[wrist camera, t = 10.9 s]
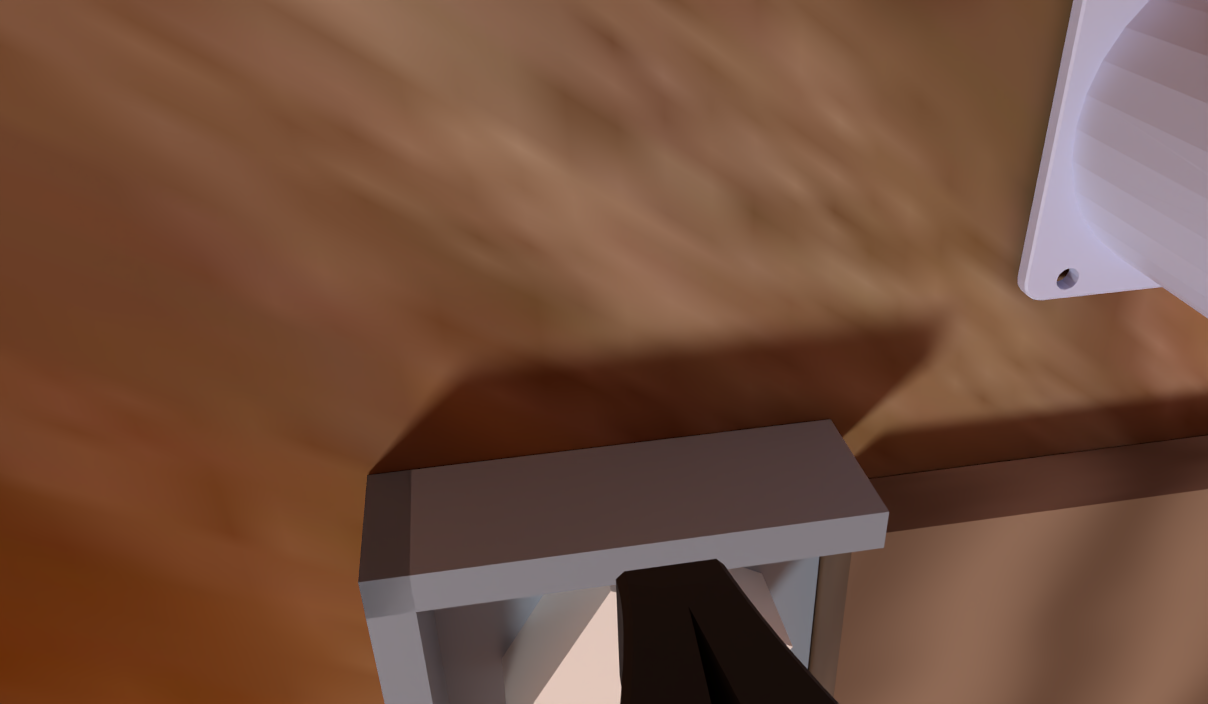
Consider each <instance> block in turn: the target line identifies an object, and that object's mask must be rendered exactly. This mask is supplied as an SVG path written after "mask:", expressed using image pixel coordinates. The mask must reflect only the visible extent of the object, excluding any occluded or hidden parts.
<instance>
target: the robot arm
mask: <svg viewBox="0 0 1208 704" xmlns="http://www.w3.org/2000/svg"><path fill="white" fill-rule="evenodd" d="M1066 269H1069V271H1068V273H1067V275H1066V276H1065V277H1064V278H1063V279H1062V280H1060V281H1057V278H1058V276H1059V274H1061V273H1062V272H1063V271H1064V270H1066ZM1018 285H1019V287H1020V289H1021V290H1022V291H1023V292H1024V293H1025V294H1026V295H1027V296H1029V297H1030V298H1032V299H1034V300H1047V299H1056V298H1065V297H1075V296H1084V295H1093V294H1102V293H1111V292H1121V291H1130V290H1139V289H1148V288H1157V287H1163V288H1165V289H1166V290H1167V291H1169V292H1170V293H1172V294H1173V295H1175V296H1176V297H1178V298H1179V299H1181V300H1182V301H1183V302H1185V303H1186V304H1188V305H1189V306H1191V307H1192V308H1194V309H1195V310H1197V311H1198V312H1199V313H1201V314H1202V315H1204V316H1205V317H1207V318H1208V0H1073V5H1072V10H1071V15H1070V20H1069V24H1068V29H1067V34H1066V39H1065V44H1064V49H1063V54H1062V59H1061V64H1060V69H1059V74H1058V79H1057V84H1056V89H1055V94H1054V99H1053V104H1052V109H1051V114H1050V119H1049V124H1048V129H1047V134H1046V139H1045V144H1044V149H1043V154H1042V159H1041V164H1040V169H1039V174H1038V179H1037V184H1036V189H1035V194H1034V199H1033V204H1032V208H1031V213H1030V218H1029V223H1028V228H1027V233H1026V238H1025V243H1024V248H1023V253H1022V258H1021V263H1020V268H1019V273H1018ZM616 598H617V623H618V649H619V674H620V682H621V698H620V704H839V703H838V702H837V701H836V700H835V699H834V698H833V697H832V696H831V694H830V693H829V692H828V691H827V690H826V689H825V688H824V687H823V686H822V685H821V684H820V683H819V681H818V680H817V679H816V678H815V677H814V676H813V675H812V674H811V672H810V671H809V670H808V669H807V668H806V667H805V666H804V665H803V664H802V662H801V661H800V660H799V659H798V658H797V657H796V656H795V655H794V653H793V652H792V651H791V650H790V649H789V648H788V646H787V645H786V644H785V643H784V642H783V641H782V639H781V638H780V637H779V636H778V635H777V633H776V632H775V631H774V630H773V628H772V627H771V626H770V625H769V624H768V622H767V621H766V620H765V619H764V617H763V616H762V615H761V614H760V612H759V611H758V610H757V609H756V607H755V606H754V605H753V603H752V602H751V601H750V600H749V598H748V597H747V596H746V594H745V593H744V592H743V590H742V589H741V588H740V586H739V585H738V583H737V582H736V581H735V579H734V578H733V577H732V575H731V574H730V572H729V571H728V569H727V568H726V567H725V565H724V564H723V563H721V562H720V561H719V560H717V559H710V560H703V561H695V562H688V563H681V564H673V565H666V566H659V567H652V568H644V569H637V570H630V571H624V572H623V573H622V574H621V575H620V576H619V577H618V578H616Z"/></svg>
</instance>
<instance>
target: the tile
mask: <svg viewBox="0 0 1208 704" xmlns="http://www.w3.org/2000/svg"><path fill="white" fill-rule="evenodd" d="M728 571H729V572H730V574H731V575H732V577H733V578H734V579H735V581H736V582H737V583H738V585H739V586H740V588H741V589H742V590H743V592H744V593H745V594H746V596H747V597H748V598H749V600H750V601H751V602H752V603H753V605H754V606H755V607H756V609H757V610H758V611H759V612H760V614H761V615H762V616H763V617H764V619H765V620H766V621H767V622H768V624H769V625H770V626H771V627H772V628H773V630H774V631H775V632H776V633H777V635H778V636H779V637H780V638H781V639H782V641H783V642H784V643H785V644H786V645H787V646H788V648H789V649H791V648H792V647H793V646H792V644H791V641H790V639H789V637H788V634H787V632H786V629H785V627H784V625H783V622H782V620H781V618H780V615H779V613H778V611H777V608H776V606H775V603H774V601H773V599H772V596H771V594H770V592H769V589H768V587H767V585H766V582H765V580H764V577H763V575H762V573H759V572H756V571H753V570H750V569H747V568H744V567H740V568H733V569H728ZM502 664H503V675H504V687H505V699H506V704H620V698H621V682H620V674H619V649H618V623H617V598H616V585H610V586H602V587H595V588H588V589H581V590H573V591H566V592H559V593H551V594H544V595H543V596H542V598H541V599H540V601H539V602H538V604H537V605H536V607H535V608H534V610H533V611H532V613H531V615H530V616H529V618H528V619H527V621H526V622H525V624H524V625H523V627H522V628H521V630H520V631H519V633H518V634H517V636H516V637H515V639H514V641H513V642H512V644H511V645H510V647H509V648H508V650H507V651H506V653H505V654H504V656H503V657H502Z"/></svg>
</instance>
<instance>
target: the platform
mask: <svg viewBox="0 0 1208 704" xmlns="http://www.w3.org/2000/svg"><path fill="white" fill-rule="evenodd" d="M869 481H870V482H871V484H872V485H873V487H874V489H875V490H876V492H877V493H878V495H879V496H880V498H881V500H882V501H883V503H884V504H885V506H886V507H887V509H888V511H889V516H888V523H887V530H886V537H885V544H884V548H878V549H871V550H864V551H857V552H849V553H842V554H835V555H827V556H820V557H819V565H818V574H817V584H816V594H815V603H814V613H813V623H812V633H811V642H810V652H809V662H808V670H809V671H810V672H811V674H812V675H813V676H814V677H815V678H816V679H817V680H818V681H819V683H820V684H821V685H822V686H823V687H824V688H825V689H826V690H827V691H828V692H829V693H830V694H831V696H832V697H833V698H834V699H835V700H836V701H837V702H838V703H839V704H1208V435H1207V436H1199V437H1191V438H1183V439H1176V440H1168V441H1160V442H1152V443H1145V444H1137V445H1129V446H1121V447H1113V448H1106V449H1098V450H1090V451H1082V452H1075V453H1067V454H1059V455H1051V456H1044V457H1036V458H1028V459H1020V460H1013V461H1005V462H997V463H989V464H982V465H974V466H966V467H958V468H951V469H943V470H935V471H927V472H920V473H912V474H904V475H896V476H888V477H881V478H873V479H869Z"/></svg>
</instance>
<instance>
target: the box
mask: <svg viewBox="0 0 1208 704" xmlns="http://www.w3.org/2000/svg"><path fill="white" fill-rule="evenodd" d="M888 516H889V511H888V509H887V507H886V506H885V504H884V503H883V501H882V500H881V498H880V496H879V495H878V493H877V492H876V490H875V489H874V487H873V485H872V484H871V482H870V481H869V479H868V477H867V476H866V474H865V473H864V471H863V470H862V468H861V466H860V465H859V463H858V462H857V460H856V459H855V457H854V455H853V454H852V452H851V451H850V449H849V447H848V446H847V444H846V443H845V441H844V440H843V438H842V436H841V435H840V433H839V432H838V430H837V429H836V427H835V425H834V424H833V422H832V421H831V419H828V420H820V421H812V422H803V423H795V424H787V425H778V426H770V427H762V428H754V429H745V430H737V431H729V432H721V433H712V434H704V435H696V436H687V437H679V438H671V439H663V440H654V441H646V442H638V443H630V444H621V445H613V446H605V447H596V448H588V449H580V450H572V451H563V452H555V453H547V454H539V455H530V456H522V457H514V458H505V459H497V460H489V461H481V462H472V463H464V464H456V465H447V466H439V467H431V468H423V469H414V470H406V471H398V472H390V473H381V474H373V475H367V486H366V498H365V509H364V521H363V533H362V545H361V557H360V568H359V580H358V583H359V588H360V593H361V597H362V602H363V606H364V611H365V615H366V620H367V625H368V629H369V634H370V638H371V643H372V647H373V652H374V656H375V661H376V666H377V670H378V675H379V679H380V684H381V688H382V693H383V698H384V702H385V704H506V699H505V687H504V675H503V664H502V657H503V656H504V654H505V653H506V651H507V650H508V648H509V647H510V645H511V644H512V642H513V641H514V639H515V637H516V636H517V634H518V633H519V631H520V630H521V628H522V627H523V625H524V624H525V622H526V621H527V619H528V618H529V616H530V615H531V613H532V611H533V610H534V608H535V607H536V605H537V604H538V602H539V601H540V599H541V598H542V596H543V595H544V594H551V593H559V592H566V591H573V590H581V589H588V588H595V587H602V586H610V585H616V578H618V577H619V576H620V575H621V574H622V573H623V572H624V571H630V570H637V569H644V568H652V567H659V566H666V565H673V564H681V563H688V562H695V561H703V560H710V559H717V560H719V561H720V562H721V563H723V564H724V565H725V567H726V568H727V569H733V568H740V567H744V568H747V569H750V570H753V571H756V572H759V573H762V575H763V577H764V580H765V582H766V585H767V587H768V589H769V592H770V594H771V596H772V599H773V601H774V603H775V606H776V608H777V611H778V613H779V615H780V618H781V620H782V622H783V625H784V627H785V629H786V632H787V634H788V637H789V639H790V641H791V644H792V646H793V647H792V648H791V649H790V650H791V651H792V652H793V653H794V655H795V656H796V657H797V658H798V659H799V660H800V661H801V662H802V664H803V665H804V666H805V667H806V668H807V669H808V662H809V652H810V642H811V633H812V623H813V613H814V603H815V594H816V584H817V574H818V565H819V557H820V556H827V555H835V554H842V553H849V552H857V551H864V550H871V549H878V548H884V544H885V537H886V530H887V523H888Z"/></svg>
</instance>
